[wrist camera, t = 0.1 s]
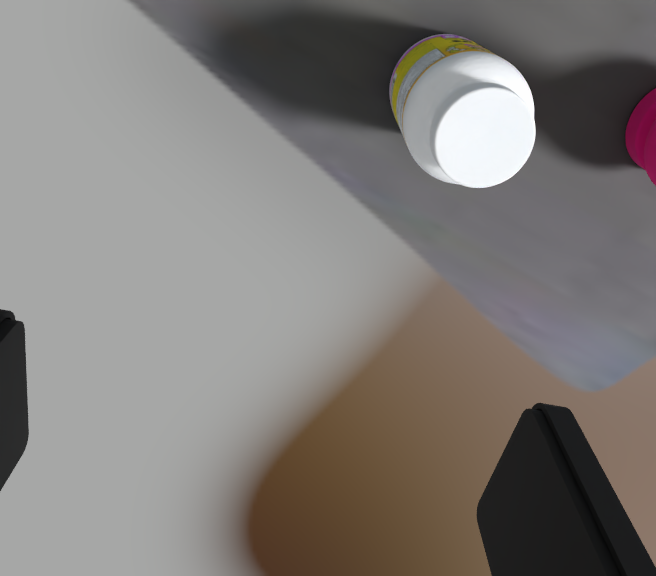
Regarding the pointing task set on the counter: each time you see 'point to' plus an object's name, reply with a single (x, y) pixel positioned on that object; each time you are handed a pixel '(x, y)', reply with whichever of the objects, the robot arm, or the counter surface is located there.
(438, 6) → the counter surface
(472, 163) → the supplement bottle
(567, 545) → the robot arm
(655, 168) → the pepper mill
